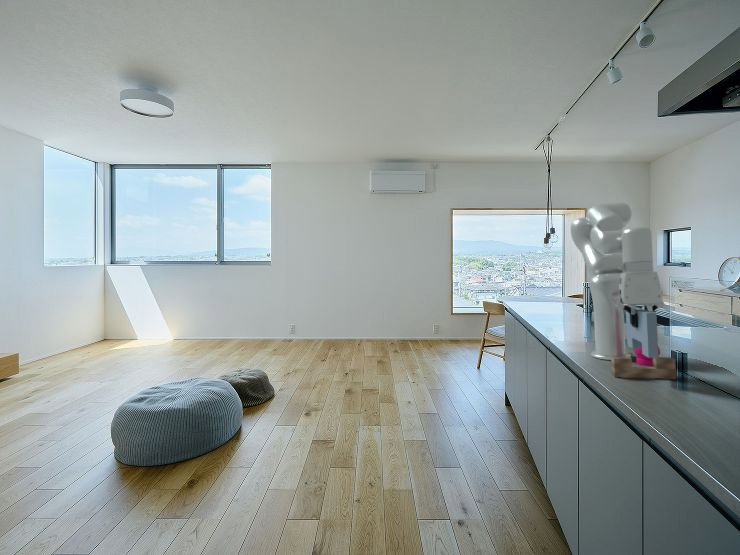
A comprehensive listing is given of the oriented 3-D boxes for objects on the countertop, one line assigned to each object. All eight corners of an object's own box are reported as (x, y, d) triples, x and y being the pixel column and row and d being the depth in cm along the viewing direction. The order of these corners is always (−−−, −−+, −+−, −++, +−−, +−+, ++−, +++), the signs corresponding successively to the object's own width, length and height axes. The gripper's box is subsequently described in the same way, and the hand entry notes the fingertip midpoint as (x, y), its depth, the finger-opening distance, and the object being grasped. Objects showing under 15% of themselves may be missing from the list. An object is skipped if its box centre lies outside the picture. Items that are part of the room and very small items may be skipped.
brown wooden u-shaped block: (614, 377, 114) (613, 358, 114) (612, 375, 116) (611, 356, 116) (676, 379, 109) (675, 359, 109) (672, 376, 111) (671, 357, 111)
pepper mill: (665, 366, 122) (662, 307, 122) (641, 366, 123) (638, 308, 123) (653, 361, 129) (650, 305, 129) (630, 361, 131) (627, 306, 130)
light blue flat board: (627, 345, 120) (625, 307, 120) (636, 345, 120) (634, 306, 120) (648, 357, 105) (646, 313, 105) (658, 357, 104) (656, 312, 104)
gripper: (612, 269, 111) (615, 329, 111) (675, 266, 106) (678, 328, 106) (604, 269, 118) (607, 325, 118) (663, 266, 113) (665, 324, 114)
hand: (640, 326), depth 112 cm, fingers closed on light blue flat board, 2 cm apart
